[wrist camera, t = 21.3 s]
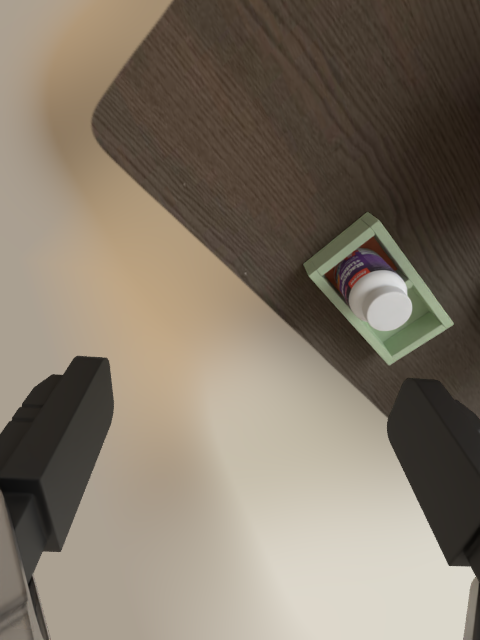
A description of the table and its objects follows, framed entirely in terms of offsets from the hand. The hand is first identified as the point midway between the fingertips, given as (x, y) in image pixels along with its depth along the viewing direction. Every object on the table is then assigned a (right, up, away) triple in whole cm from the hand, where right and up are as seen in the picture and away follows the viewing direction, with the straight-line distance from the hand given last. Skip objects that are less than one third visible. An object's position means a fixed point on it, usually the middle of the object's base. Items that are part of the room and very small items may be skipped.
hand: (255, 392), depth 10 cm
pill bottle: (+13, +8, +30) cm, 33 cm away
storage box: (+15, +6, +32) cm, 36 cm away
